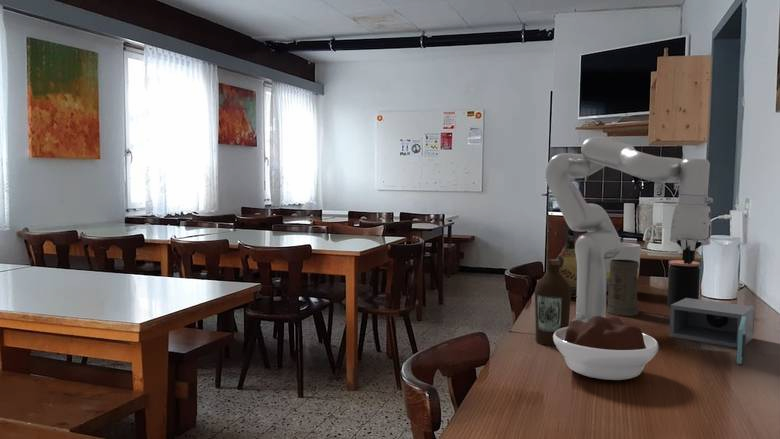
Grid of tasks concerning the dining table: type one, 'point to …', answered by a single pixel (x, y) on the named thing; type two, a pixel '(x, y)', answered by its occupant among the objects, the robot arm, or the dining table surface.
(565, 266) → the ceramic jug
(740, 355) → the side door
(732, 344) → the grey cabinet
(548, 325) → the olive oil
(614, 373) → the white dessert bowl
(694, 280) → the coffee jar
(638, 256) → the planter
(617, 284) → the beer stein
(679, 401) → the dining table surface
